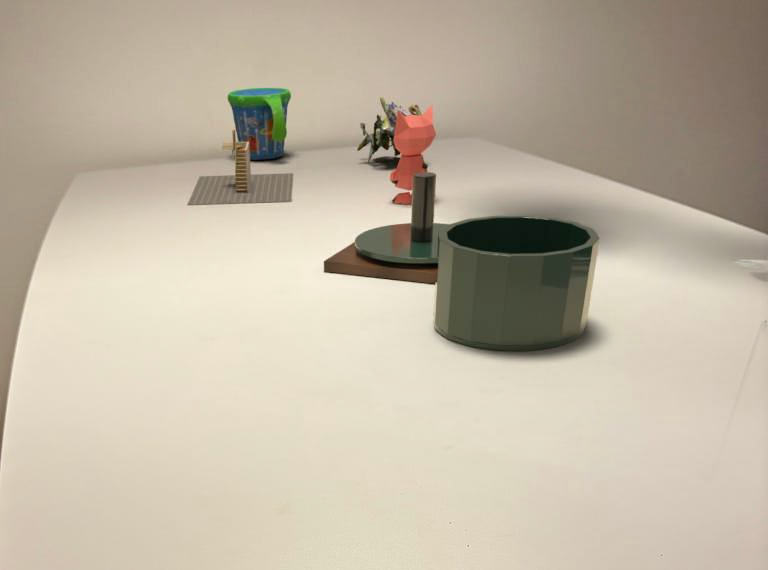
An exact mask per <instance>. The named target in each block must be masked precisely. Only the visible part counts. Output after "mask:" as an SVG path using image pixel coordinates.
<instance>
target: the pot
mask: <svg viewBox="0 0 768 570" xmlns="http://www.w3.org/2000/svg"><path fill="white" fill-rule="evenodd" d="M448 224H449V225H447V226H446V227H444V228H443V229H442V230H440V231H439V233H438V249H437V266H436V283H435V284H434V285H435V286H434V301H433V302H434V303H433V326H434V329H435V331H436V332H437V333H438V334H440V336H442V337H444V338H446V339H448V340H450V341H452V342H455V343H458V344H461V345H464V346H468V347H473V348H476V349H484V350H492V351H504V352H511V351H512V352H521V351H522V352H524V351H525V352H527V351H538V350H547V349H551V348H556V347H560V346H563V345H566V344H569V343H571V342H573V341H575V340H577V339H578V338H580V337H581V336H582V334H583V333H584V331H585V326H586V325H587V322H588V316H589V309H590V303H591V297H592V290H593V284H594V278H595V271H596V266H597V265H596V264H597V260H598V259H597V258H598V252H599V246H600V240H601V238H600V236H599V234H598V233H597V232H596V230H595V229H594V228H592V227H590V226H587V225H584V224H582V223H580V222H577V221H573V220H568V219H562V218H559V217H552V216H551V217H550V216H538V215H537V216H536V215H525V214H521V215H519V214H517V215H515V214H512V215H490V216H481V217H474V218H467V219H463V220H460V221H456V222H453V223H448Z"/></svg>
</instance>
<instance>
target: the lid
mask: <svg viewBox="0 0 768 570" xmlns="http://www.w3.org/2000/svg"><path fill="white" fill-rule="evenodd" d="M436 185H437V173H434V172H431V171H430V172H429V171H427V172H419V173H415V174H413V188H412V190H411V191H412V192H411V194H412V204H411V214H410V215H411V216H410V222H407V223H395V224H387V225H381V226H379V227H374V228H371V229H368V230H365V231H362V232H361V233H359V234H358V235H357V236H356V237H355V238H354V242H355V248H356V250H357V251H358V252H359V253H361V254H363V255H365V256H368V257H371V258H374V259H379V260H383V261H389V262H396V263H405V264H436V263H437V249H438V233H439V231H440V230H442V229H443V228H444V227H446V226H447V225H449V224H450V223H440V222H439V223H438V222H434V221H435V219H434V218H435V202H436Z"/></svg>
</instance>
